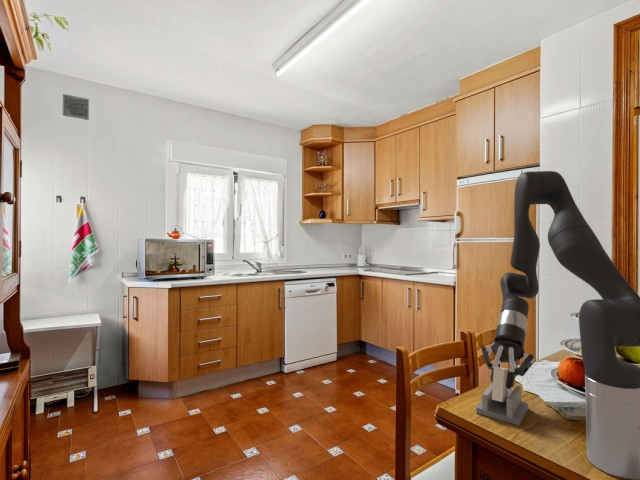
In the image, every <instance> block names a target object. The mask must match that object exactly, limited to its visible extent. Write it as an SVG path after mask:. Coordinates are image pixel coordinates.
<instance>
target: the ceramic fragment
mask: <svg viewBox="0 0 640 480" xmlns="http://www.w3.org/2000/svg"><path fill="white" fill-rule="evenodd" d="M543 405H544V406H548V407H551V409H552V410H554V411H556V412H558V413H559V414H560V416H562V417H563V418H564V419H566V420H571V421H586V400H585V401H583V400H582V401H544V402H543Z"/></svg>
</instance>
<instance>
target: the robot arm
mask: <svg viewBox="0 0 640 480" xmlns="http://www.w3.org/2000/svg"><path fill="white" fill-rule="evenodd" d="M514 186H515V187H514V201H513V202H514V205H513V207H514V210H513V212H514V213H513V215H514V216H513V217H514V219H513V220H514V223H513V224H514V225H513V226H514V234H513V244H512V250H511V255H510V263H509V264H510V266H511V268H513V269H514V270H516V271H519V272H521V273H523V274H521V273H516V272H506V273H504V274H503V275H502V276H501V278H500V281H499V282H500V283H499V284H500V291H501V295H502V304H501V310H500V314H499V317H498V320H497V325H496V330H495V334H494V340H493V342H492V343H491V345H490V346H487V347H486V346H484V345H482V346H480V348H481V349H480V350H481V352H482V356H483V359H484V362H485V365H486V367H487V370H491V373H490V381H491V383H493V370H494V367H499V368H502V366H503V363H507V364H509V369H510V372H508V377H507V383H506V386H507V388H508V389H511V387H512V388H514V387H515V383H516V382H515V381H516V377H517V376H520V377H523V376H525V375H526V373H527V372H528V371H529V369H531V367H532V366H533V365H534V363H535V362H536V361H535V358H534V355H533V354H528V353H527V352H526V351H525V344H526V337H527V332H528V330H527V328H528V315H529V311H530V310H529V309H530V304H529V303H528V301H527V300H526V299H533V298H535V297H536V296H537V295H538V294H539V288H540V287H539V286H540V285H539V281H538V275H537V267H538V266H537V265H538V258H539V254H540V250H541V249H540V248H541V247H540V246H541V242H540V239H539V236H538V234H537V232H536V230H535V228H534V227H533V224H532V222H531V219H530V207H531V205H547V206H549V207H550V208H551V209H552V211H553V213H554V216H553V219H552V221H551V224H550V226H549V229H548V232H547V240H548V245H549V246H550V248H551V251H552V252H553V254H554V256H555V258H556V260H557V262H558V263H559V264H560V265H561V266H562V267H564V269H566V270H567V271H569V272H570V273H571V274H572V275H574V276H575V277H577V278H579V279H580V280H582V281H583V282H585V283H586V284H588V285H589V286H590V287H591V288H593V290H594V291H596V292H597V293H598V295H599V296H600V297H601V299H587V300H586V301H584V302H583V303H582V305H581V307H580V309H579V313H578V325H579V326H578V327H579V336H580V337H579V339H580V351H581V352H580V353H581V358H582V362H583V366H584V386H585V387H584V388H585V390H584V391H585V392H584V394H585V402H586V419H585V430H586V431H585V432H586V434H585V435H586V436H585V438H586V445H585V449H586V458H587V460H588V462H589V463H591V464H592V465H593V466H594V467H595V468H597V469H599V470H601V471H602V472H604V473H606V474H609V475H610V476H611V475H612V476H614V477H617V478H622V479H625V480H640V367H639V366H638V365H635V364H633V363H630V362H628V361H625V360H622V359H618V357H617V353H616V352H617V351H616V347H630V348H633V347H635V348H637V347H640V295H639V294H638V293H637V291H635V289H634V288H633V287H632V286H631V284H630V283H629V282H628V281H627V280H626V278H625V277H624V276H623V274H622V273H621V272H620V271H619V270H618V268H617V266H616V265H615V264H614V262H613V261H612V259H611V257H610V256H609V255H608V253H607V252H606V250H605V249H604V247H603V246H602V243H601V241H600V240H599V238H598V237H597V235H596V233H595V232H594V231H593V229H592V228H591V227H590V225H589V224H588V222H587V220H586V219H585V217H584V215H583V214H582V212H581V211H580V209H579V207H578V205H577V204H576V202H575V199H574V198H573V196H572V193H571V191H570V189H569V186H568V184H567V182H566V181H565V179H564V177H563V176H562V174H561V173H559V172H557V171H553V170H539V171H538V170H537V171H524V172H522V173H520V174H519V175H518V177H517V179H516V182H515V185H514ZM492 353H493V354H494V359H493V362H491V359H490V355H491V354H492ZM522 358H523V361H522V362H521V364H520V365H519V366H518V367H517V362H518V361H520V360H521V359H522Z"/></svg>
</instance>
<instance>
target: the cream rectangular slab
mask: <svg viewBox="0 0 640 480" xmlns="http://www.w3.org/2000/svg"><path fill="white" fill-rule="evenodd" d="M508 372H510V368H506V367H500V368H499V367H494V370H493V386H492V400H496V401H500V402H506V400H507V399H508V397H509V396H510V394H511V393H512V391H513V387H511V389H508V388H507V386H506V383H507V377H508Z"/></svg>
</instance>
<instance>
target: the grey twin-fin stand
mask: <svg viewBox="0 0 640 480" xmlns="http://www.w3.org/2000/svg"><path fill="white" fill-rule="evenodd" d="M492 386H493V383H492V382H491V383H490V384H489V385H488V386H487V388H486V389H485V390H484V391H483V392H482V394H481V395H482V396H481V401H480V402H479V404H478V405H477V406H476V407H475V411H476V412H475V413H476V414H477V413H479V414H478V415H481V414H482V416H484V415H485V417H487V416H488V417H487V418H492V419H494V418H495V420H498V421H502V422H504V423H508V424H513V425H514V426H518V427H519V426H520V425H521V423H522V421H523V419H524V417H525V415H527V412H528V410H529V403H528V402H525V401H523V400H522V386H519V385H515V386H514V387H513V389H512V393H511V394H510V396H509V397H508V399H507V400H506V402H500V401H496V400H492Z"/></svg>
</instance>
